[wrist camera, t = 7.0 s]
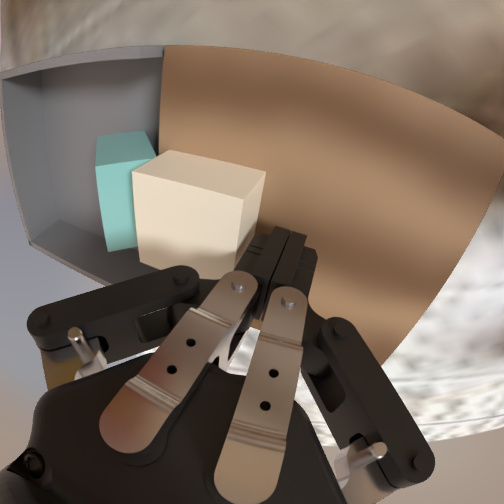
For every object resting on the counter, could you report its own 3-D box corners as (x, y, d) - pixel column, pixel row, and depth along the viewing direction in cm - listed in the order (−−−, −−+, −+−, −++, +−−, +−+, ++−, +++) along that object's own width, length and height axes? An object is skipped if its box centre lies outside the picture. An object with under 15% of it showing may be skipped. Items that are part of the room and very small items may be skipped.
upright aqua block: (144, 130, 16) (97, 136, 15) (157, 158, 13) (95, 166, 12) (145, 199, 19) (104, 206, 18) (159, 242, 16) (107, 252, 15)
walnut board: (196, 46, 13) (165, 45, 10) (488, 129, 10) (514, 145, 8) (183, 269, 23) (164, 294, 20) (381, 333, 20) (380, 366, 18)
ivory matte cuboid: (169, 149, 14) (131, 171, 11) (266, 171, 13) (243, 199, 11) (169, 231, 17) (140, 261, 14) (250, 257, 16) (230, 295, 14)
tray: (42, 61, 15) (-1, 73, 12) (191, 46, 13) (139, 45, 9) (60, 220, 25) (29, 245, 22) (180, 267, 23) (150, 306, 19)
